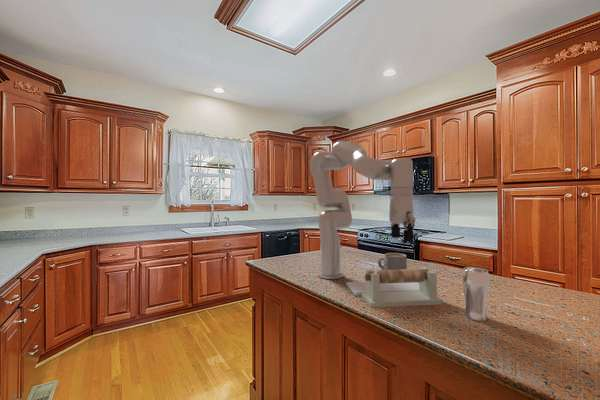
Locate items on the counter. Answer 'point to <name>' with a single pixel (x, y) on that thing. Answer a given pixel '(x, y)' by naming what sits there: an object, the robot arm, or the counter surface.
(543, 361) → the counter surface
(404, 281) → the rolling pin
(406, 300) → the pin stand
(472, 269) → the beer glass
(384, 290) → the pastry board
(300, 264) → the counter surface
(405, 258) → the coffee mug
